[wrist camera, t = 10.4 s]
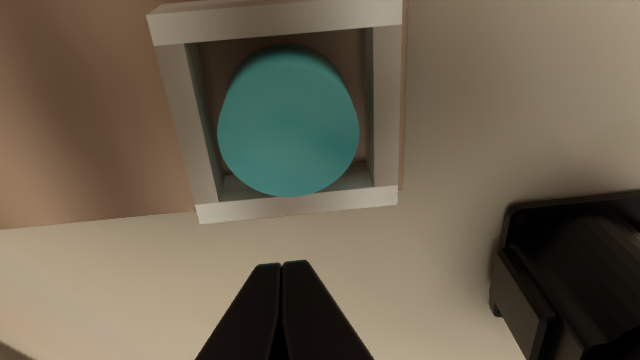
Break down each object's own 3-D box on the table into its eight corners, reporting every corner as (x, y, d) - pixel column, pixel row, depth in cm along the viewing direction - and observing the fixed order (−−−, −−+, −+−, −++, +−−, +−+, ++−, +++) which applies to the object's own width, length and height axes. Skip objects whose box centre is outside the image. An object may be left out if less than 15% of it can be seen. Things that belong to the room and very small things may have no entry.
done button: (345, 38, 14) (357, 61, 12) (350, 153, 16) (361, 190, 14) (216, 50, 14) (203, 74, 11) (237, 164, 16) (230, 203, 14)
